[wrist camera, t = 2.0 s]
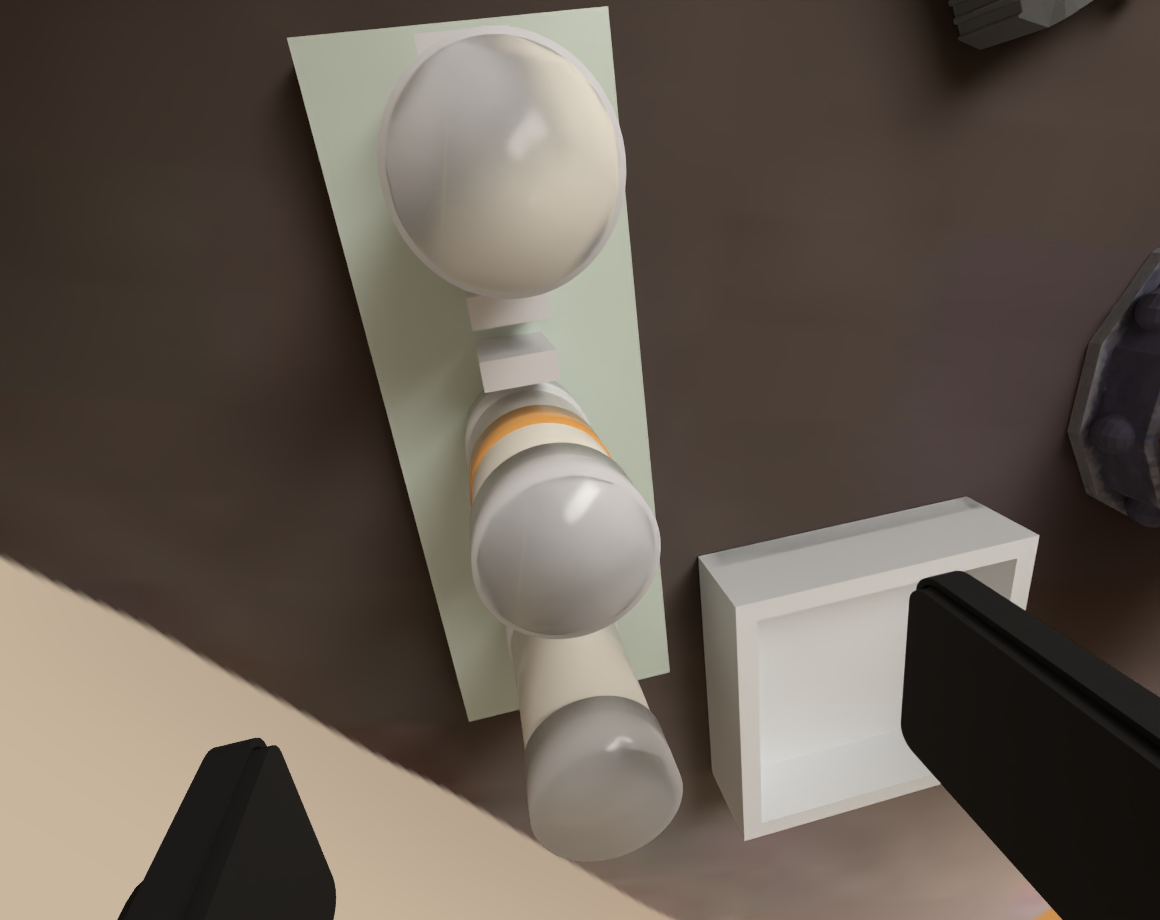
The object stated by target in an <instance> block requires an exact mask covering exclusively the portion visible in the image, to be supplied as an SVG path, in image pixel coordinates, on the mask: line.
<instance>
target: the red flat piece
mask: <svg viewBox="0 0 1160 920" xmlns="http://www.w3.org/2000/svg"><path fill="white" fill-rule="evenodd" d="M1091 1H1093V0H949V1H948V3H949V7H951V6H953V10H954V14H955V18H954V19H953V22H954V25H957V26H958V29H959V33H960V36H959V37H958V40H959V41H961V42H964V43H966V44H968V45H970V46H973V47H975V48H977V49H979V50H982V49H985V48H988V47H991V46H994V45H997V44H1000V43H1003V42H1006V41H1009V40H1013V39H1016V38H1019V37H1022V36H1025V35H1028V34H1031V33H1034V32H1037V31H1040V30H1043V29H1046V28H1049V27H1051V26H1052V25H1054V24H1056V23H1058V22H1060V21H1062V20H1064V19H1065V18H1067V17H1069V16H1070V15H1072V14H1073V13H1075V12H1077V11H1078V10H1080V9H1081V8H1083V7H1084V6H1085V5H1087V4H1088V3H1090V2H1091Z"/></svg>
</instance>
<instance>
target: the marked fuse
mask: <svg viewBox="0 0 1160 920" xmlns="http://www.w3.org/2000/svg"><path fill="white" fill-rule="evenodd" d="M465 452H466V460H467V464H468V468H469V489H470V501H471V508H472V509H471V515H470V547H471V566H472V575H473V581H474V584H475V587H476V590H477V592H478V594H479V596H480V598H481V600H482V602H483V603H484V605H485V606H486V607H487V609H488V610H489V611H490V612H491V613H492V614H493V615H494V616H495V617H496V618H497V619H498V620H499V621H501V622H502V623H503V624H505V625H506V626H508V627H510V628H512V629H513V630H516V631H518V632H520V633H523V634H526V635H529V636H533V637H537V638H544V639H570V638H575V637H581V636H584V635H588V634H591V633H594V632H596V631H599V630H601V629H604V628H606V627H607V626H609V625H611V624H613V623H615V622H616V621H618V620H619V619H620V618H622V617H623V616H625V615H626V614H627V613H628V612H629V611H630V610H632V609H633V608H634V606H635V605H636V604H637V603H638V602H639V601H640V600H641V599H642V597H643V596H644V594H645V593H646V592H647V590H648V588H649V587H650V585H651V583H652V581H653V579H654V576H655V574H656V571H657V568H658V564H659V559H660V551H661V544H660V534H659V528H658V525H657V522H656V519H655V517H654V515H653V513H652V511H651V509H650V508H649V506H648V505H647V503H646V502H645V500H644V499H643V498H642V496H641V495H640V493H639V492H638V490H637V489H636V487H635V486H634V485H633V483H632V482H631V480H630V479H629V477H628V476H627V475H626V473H625V472H624V470H623V469H622V468H621V467H620V466H619V465H618V464H617V463H616V462H615V461H614V460H613V459H612V457H611V456H610V454H609V452H608V450H607V449H606V447H605V446H604V445H603V443H602V442H601V440H600V439H599V437H598V436H597V434H596V433H595V431H594V430H593V429H592V427H591V426H590V423H589V421H588V419H587V417H586V415H585V414H584V412H583V411H582V409H581V408H580V406H579V405H578V403H577V402H576V401H575V399H574V398H573V396H572V395H571V394H570V393H569V392H568V391H567V390H566V389H565V388H564V387H563V386H561V385H560V384H559V383H557V382H555V381H550V382H544V383H539V384H533V385H527V386H522V387H516V388H511V389H505V390H499V391H494V392H488V393H485V391H482V392H481V393H480V394H479V396H478V397H477V398H476V399H475V401H474V402H473V404H472V406H471V408H470V410H469V412H468V415H467V418H466V423H465Z"/></svg>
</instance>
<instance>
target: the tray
mask: <svg viewBox="0 0 1160 920" xmlns="http://www.w3.org/2000/svg"><path fill="white" fill-rule="evenodd" d="M1038 541H1039V535H1038V534H1036V533H1034V532H1032V531H1031V530H1029V529H1027V528H1025V527H1023V526H1021V525H1019V524H1017V523H1015V522H1014V521H1012V520H1010V519H1008V518H1006V517H1004V516H1002V515H1000V514H999V513H997V512H995V511H993V510H991V509H989V508H987V507H985V506H983V505H982V504H980V503H978V502H976V501H974V500H972V499H970V498H968V497H962V498H958V499H953V500H949V501H944V502H940V503H935V504H931V505H926V506H922V507H917V508H913V509H908V510H904V511H899V512H895V513H890V514H886V515H882V516H877V517H873V518H868V519H864V520H859V521H855V522H850V523H846V524H841V525H837V526H832V527H828V528H823V529H819V530H814V531H810V532H805V533H801V534H797V535H792V536H788V537H783V538H779V539H774V540H770V541H765V542H761V543H756V544H752V545H747V546H743V547H738V548H734V549H729V550H725V551H720V552H716V553H712V554H707V555H703V556H698V562H699V577H700V593H701V608H702V624H703V640H704V655H705V671H706V686H707V702H708V718H709V733H710V749H711V764H712V773H713V776H714V778H715V780H716V782H717V784H718V786H719V788H720V790H721V793H722V795H723V797H724V799H725V801H726V803H727V805H728V807H729V810H730V812H731V814H732V816H733V818H734V820H735V822H736V824H737V827H738V829H739V831H740V833H741V835H742V837H743V839H744V841H747V840H750V839H754V838H757V837H761V836H764V835H767V834H771V833H774V832H778V831H781V830H785V829H788V828H792V827H795V826H798V825H802V824H805V823H809V822H812V821H816V820H819V819H823V818H826V817H830V816H833V815H836V814H840V813H843V812H847V811H850V810H854V809H857V808H861V807H864V806H867V805H871V804H874V803H878V802H881V801H885V800H888V799H892V798H895V797H898V796H902V795H905V794H909V793H912V792H916V791H919V790H923V789H926V788H929V787H933V786H936V785H940V784H941V783H940V782H939V781H938V780H937V779H936V778H935V776H934V775H933V774H932V773H931V772H930V771H929V770H928V769H927V768H926V766H925V765H924V764H923V763H922V762H921V761H920V760H919V759H918V757H917V756H916V755H915V754H914V753H913V752H912V751H911V749H910V748H909V747H908V745H907V743H906V741H905V739H904V737H903V734H902V730H901V711H902V696H903V682H904V667H905V653H906V639H907V624H908V610H909V598H910V595H911V593H912V592H913V591H916V587H917V584H918V583H919V581H920V580H922V579H924V578H927V577H931V576H935V575H940V574H944V573H948V572H952V571H963V572H965V573H967V574H969V575H971V576H973V577H974V578H976V579H977V580H979V581H980V582H982V583H983V584H985V585H986V586H988V587H990V588H991V589H993V590H994V591H996V592H997V593H999V594H1000V595H1002V596H1003V597H1005V598H1007V599H1008V600H1010V601H1011V602H1013V603H1014V604H1016V605H1017V606H1019V607H1020V608H1022V609H1024V610H1025V611H1026V605H1027V600H1028V595H1029V589H1030V584H1031V578H1032V573H1033V568H1034V562H1035V557H1036V552H1037V546H1038Z"/></svg>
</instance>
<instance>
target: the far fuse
mask: <svg viewBox="0 0 1160 920" xmlns="http://www.w3.org/2000/svg"><path fill="white" fill-rule="evenodd" d="M505 628H506V636H507V643H508V651H509V655H510V659H511V661H512V663H513V665H514V673H515V680H516V687H517V695H518V702H519V710H520V717H521V724H522V732H523V739H524V746H525V751H524V756H523V768H524V776H525V783H526V791H527V799H528V807H529V814H530V822H531V828H532V831H533V834H534V835H535V837H536V839H537V840H538V841H539V843H540V844H541V845H542V846H543V847H544V848H546V849H547V850H548V851H550V852H551V853H553V854H555V855H557V856H560V857H562V858H566V859H569V860H575V861H587V862H589V861H601V860H608V859H612V858H616V857H619V856H622V855H625V854H628V853H630V852H632V851H635V850H637V849H638V848H640V847H642V846H644V845H645V844H647V843H648V842H650V841H651V840H653V839H654V838H655V837H656V836H658V835H659V834H660V833H661V832H662V831H663V830H664V829H665V828H666V827H667V826H668V824H669V823H670V822H671V821H672V819H673V818H674V816H675V814H676V812H677V810H678V808H679V806H680V803H681V800H682V794H683V784H682V778H681V776H680V773H679V770H678V768H677V766H676V763H675V761H674V758H673V756H672V753H671V751H670V749H669V746H668V744H667V741H666V739H665V736H664V734H663V732H662V729H661V727H660V724H659V722H658V720H657V719H656V717H655V716H654V714H653V713H652V712H651V711H650V710H649V707H648V705H647V702H646V700H645V697H644V695H643V692H642V690H641V687H640V685H639V682H638V680H637V677H636V675H635V672H634V670H633V667H632V665H631V662H630V660H629V657H628V655H627V653H626V650H625V648H624V645H623V643H622V640H621V638H620V635H619V633H618V624H617V621H616V622H615V623H613V624H611V625H609V626H607V627H606V628H604V629H601V630H599V631H596V632H594V633H591V634H588V635H584V636H581V637H575V638H570V639H544V638H537V637H533V636H529V635H526V634H523V633H520V632H518V631H516V630H513V629H512V628H510V627H508V626H506V625H505Z"/></svg>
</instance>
